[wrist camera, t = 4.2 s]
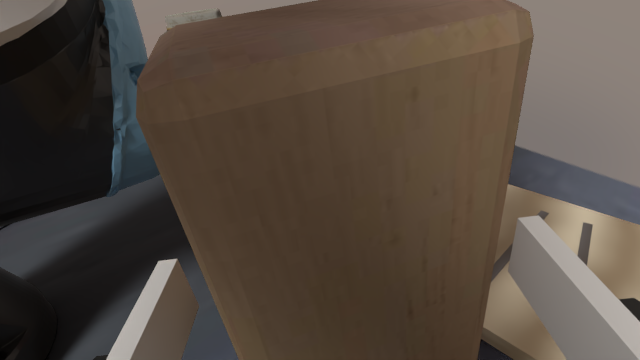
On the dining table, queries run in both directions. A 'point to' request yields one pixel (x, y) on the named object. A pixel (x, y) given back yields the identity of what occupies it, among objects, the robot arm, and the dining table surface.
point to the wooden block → (342, 169)
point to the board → (584, 240)
